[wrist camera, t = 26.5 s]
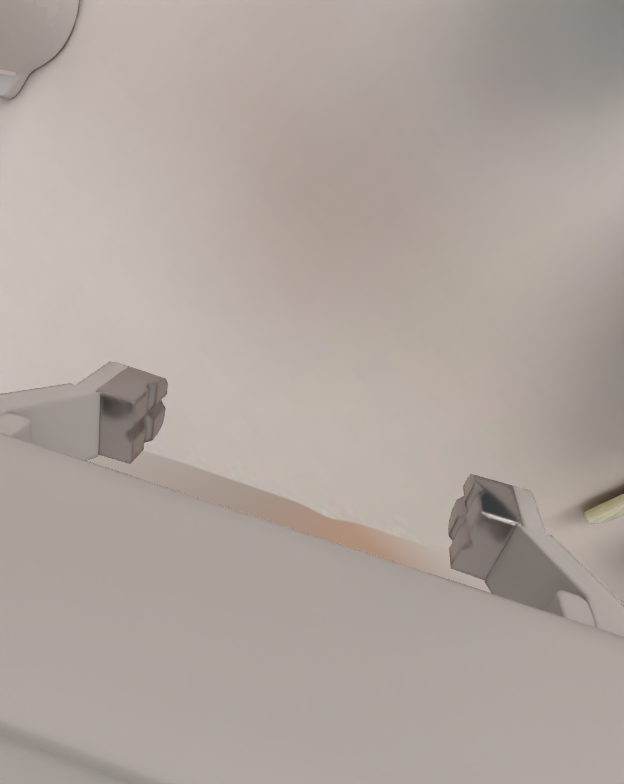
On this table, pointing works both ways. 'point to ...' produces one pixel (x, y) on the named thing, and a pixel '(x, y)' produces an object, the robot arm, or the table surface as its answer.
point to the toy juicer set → (606, 511)
